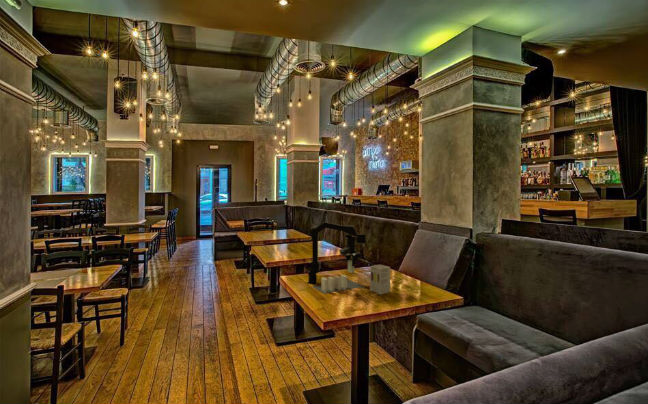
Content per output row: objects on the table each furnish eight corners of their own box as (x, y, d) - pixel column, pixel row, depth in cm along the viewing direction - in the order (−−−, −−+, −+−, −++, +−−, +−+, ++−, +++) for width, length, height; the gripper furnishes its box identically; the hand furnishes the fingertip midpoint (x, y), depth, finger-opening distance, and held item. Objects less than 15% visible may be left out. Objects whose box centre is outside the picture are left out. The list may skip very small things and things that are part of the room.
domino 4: (340, 286, 235) (340, 275, 234) (343, 286, 236) (343, 274, 235) (344, 288, 230) (344, 276, 230) (347, 288, 231) (347, 276, 231)
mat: (311, 287, 236) (311, 286, 236) (350, 281, 251) (350, 280, 251) (324, 294, 220) (324, 293, 220) (365, 287, 236) (365, 286, 236)
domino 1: (321, 290, 227) (321, 278, 227) (324, 289, 228) (324, 277, 228) (325, 292, 223) (325, 279, 223) (327, 291, 224) (327, 279, 224)
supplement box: (369, 291, 228) (369, 265, 227) (379, 288, 233) (379, 263, 232) (380, 294, 220) (380, 268, 219) (390, 292, 225) (390, 266, 225)
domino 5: (347, 271, 244) (347, 260, 244) (350, 271, 245) (350, 259, 245) (351, 273, 240) (351, 261, 240) (354, 272, 241) (354, 261, 241)
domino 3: (334, 287, 232) (334, 276, 232) (336, 287, 233) (337, 275, 233) (338, 289, 228) (338, 277, 228) (340, 289, 229) (341, 277, 228)
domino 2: (328, 289, 230) (328, 277, 229) (330, 288, 231) (330, 276, 230) (331, 291, 225) (331, 278, 225) (334, 290, 226) (334, 278, 226)
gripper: (334, 242, 246) (334, 264, 246) (349, 246, 230) (349, 270, 230) (347, 241, 251) (347, 262, 252) (362, 245, 235) (362, 268, 236)
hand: (350, 265), depth 243 cm, fingers closed on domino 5, 5 cm apart
